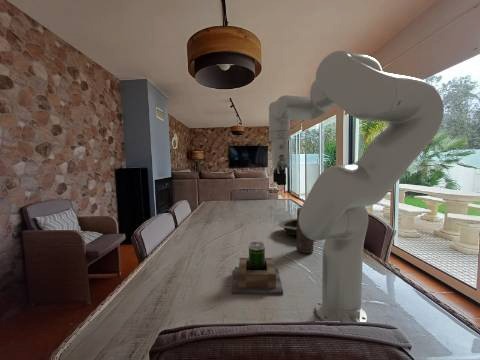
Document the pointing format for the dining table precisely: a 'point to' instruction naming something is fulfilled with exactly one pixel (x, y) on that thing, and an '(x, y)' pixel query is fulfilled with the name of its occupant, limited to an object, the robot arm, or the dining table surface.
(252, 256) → the beer can
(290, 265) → the dining table surface
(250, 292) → the well block
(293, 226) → the stone bowl
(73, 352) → the dining table surface
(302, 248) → the brown cylinder
